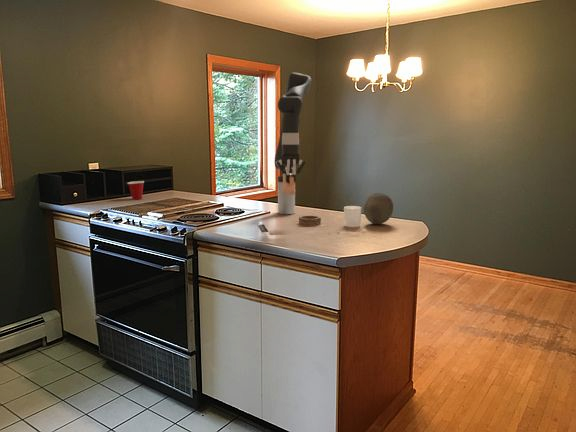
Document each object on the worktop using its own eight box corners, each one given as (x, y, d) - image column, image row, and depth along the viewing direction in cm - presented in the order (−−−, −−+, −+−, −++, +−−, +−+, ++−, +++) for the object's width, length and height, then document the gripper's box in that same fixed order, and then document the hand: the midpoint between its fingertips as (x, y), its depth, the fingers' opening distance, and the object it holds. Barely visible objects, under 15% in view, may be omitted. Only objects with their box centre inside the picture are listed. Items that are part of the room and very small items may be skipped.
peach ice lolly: (281, 193, 210) (281, 173, 208) (293, 192, 211) (293, 173, 209) (285, 195, 201) (285, 175, 200) (298, 195, 202) (298, 174, 201)
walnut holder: (292, 224, 219) (292, 215, 219) (320, 223, 222) (320, 214, 221) (297, 230, 206) (297, 220, 205) (328, 229, 208) (328, 219, 207)
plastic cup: (128, 198, 312) (127, 181, 310) (145, 197, 315) (144, 180, 313) (128, 200, 302) (127, 182, 300) (145, 200, 305) (144, 182, 303)
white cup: (359, 227, 213) (359, 205, 211) (362, 230, 205) (363, 208, 204) (342, 227, 213) (342, 205, 211) (344, 230, 205) (345, 208, 203)
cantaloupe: (357, 223, 222) (358, 192, 220) (382, 221, 227) (383, 191, 225) (372, 228, 210) (373, 195, 207) (399, 226, 214) (400, 194, 212)
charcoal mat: (258, 225, 217) (258, 224, 216) (283, 224, 219) (283, 223, 219) (262, 231, 203) (262, 230, 203) (289, 230, 205) (289, 229, 205)
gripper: (303, 143, 205) (303, 182, 208) (273, 143, 203) (273, 182, 206) (307, 143, 198) (307, 183, 201) (276, 143, 195) (276, 184, 198)
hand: (290, 183), depth 203 cm, fingers closed on peach ice lolly, 1 cm apart
